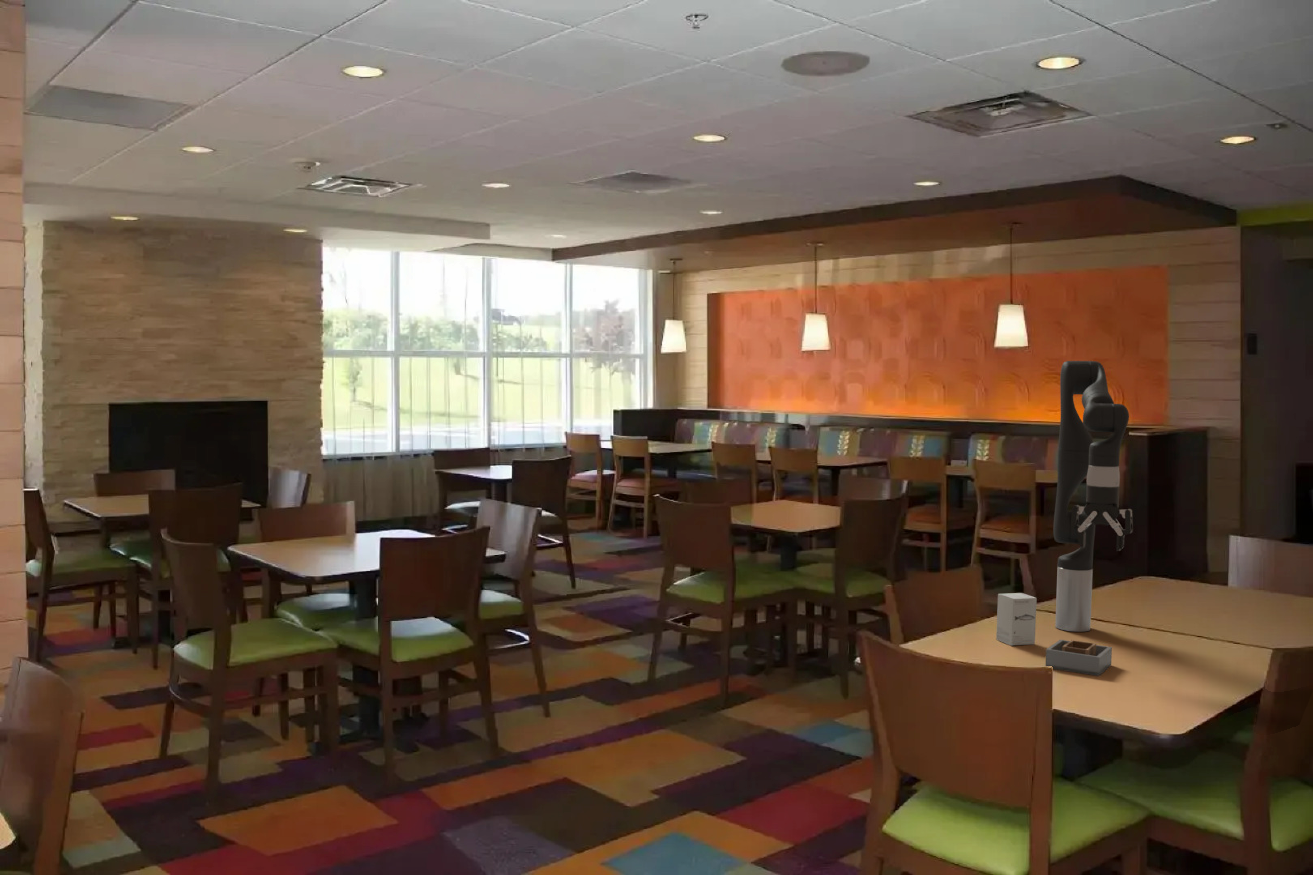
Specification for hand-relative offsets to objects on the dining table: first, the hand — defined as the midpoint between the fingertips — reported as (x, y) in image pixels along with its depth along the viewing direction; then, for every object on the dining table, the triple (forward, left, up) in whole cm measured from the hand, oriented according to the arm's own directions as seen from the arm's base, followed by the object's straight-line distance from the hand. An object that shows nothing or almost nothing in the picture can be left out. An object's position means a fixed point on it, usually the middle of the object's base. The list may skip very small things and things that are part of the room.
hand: (1100, 548), depth 277 cm
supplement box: (-6, -22, -28) cm, 36 cm away
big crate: (+9, -2, -28) cm, 30 cm away
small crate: (+9, -2, -27) cm, 29 cm away
